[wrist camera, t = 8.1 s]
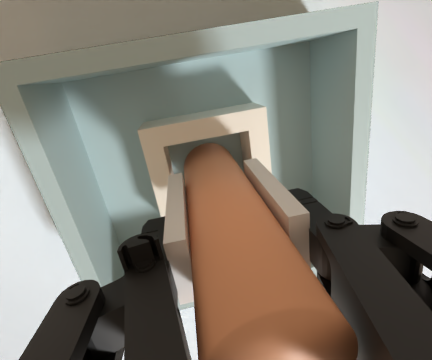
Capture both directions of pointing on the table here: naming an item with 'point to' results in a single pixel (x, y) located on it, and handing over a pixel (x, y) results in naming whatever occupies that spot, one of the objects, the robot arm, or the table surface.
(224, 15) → the table surface
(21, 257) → the table surface
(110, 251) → the box
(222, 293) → the peg
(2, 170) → the table surface
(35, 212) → the table surface
